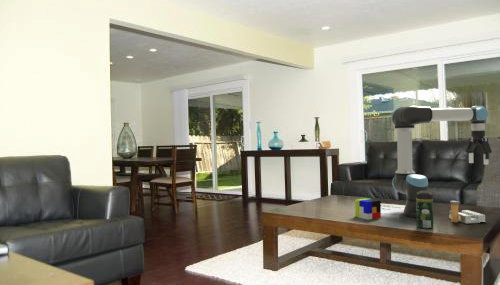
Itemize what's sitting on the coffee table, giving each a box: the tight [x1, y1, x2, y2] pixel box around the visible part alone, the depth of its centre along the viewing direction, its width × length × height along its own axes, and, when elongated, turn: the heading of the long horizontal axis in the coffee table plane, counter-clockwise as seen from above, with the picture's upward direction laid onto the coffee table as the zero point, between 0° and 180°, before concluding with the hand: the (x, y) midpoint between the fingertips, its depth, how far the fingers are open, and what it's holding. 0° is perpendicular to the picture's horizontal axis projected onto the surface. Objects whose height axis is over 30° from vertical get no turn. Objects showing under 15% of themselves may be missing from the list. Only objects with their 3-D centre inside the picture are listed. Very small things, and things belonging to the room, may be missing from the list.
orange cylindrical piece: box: [449, 200, 460, 223], centre depth 212 cm, size 4×4×11 cm
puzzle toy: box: [354, 197, 382, 221], centre depth 229 cm, size 10×10×10 cm
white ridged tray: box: [448, 209, 486, 224], centre depth 215 cm, size 11×14×4 cm
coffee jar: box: [416, 190, 434, 230], centre depth 202 cm, size 10×8×19 cm
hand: (478, 163), depth 250 cm, fingers open, 13 cm apart
